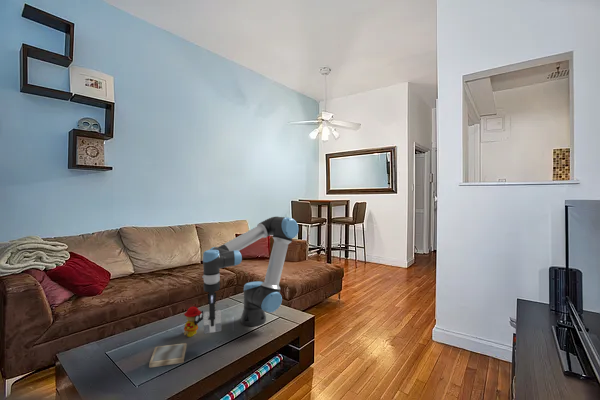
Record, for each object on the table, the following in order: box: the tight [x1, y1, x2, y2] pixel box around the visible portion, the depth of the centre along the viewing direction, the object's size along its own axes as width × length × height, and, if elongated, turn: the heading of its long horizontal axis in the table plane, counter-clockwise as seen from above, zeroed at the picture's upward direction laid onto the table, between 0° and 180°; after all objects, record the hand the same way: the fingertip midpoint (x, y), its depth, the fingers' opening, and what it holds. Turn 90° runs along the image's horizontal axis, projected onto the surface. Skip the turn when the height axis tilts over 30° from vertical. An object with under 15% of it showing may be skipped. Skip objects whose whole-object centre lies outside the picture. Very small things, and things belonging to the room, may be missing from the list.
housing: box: [203, 309, 222, 335], centre depth 141 cm, size 8×6×8 cm
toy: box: [183, 306, 204, 338], centre depth 156 cm, size 11×9×15 cm
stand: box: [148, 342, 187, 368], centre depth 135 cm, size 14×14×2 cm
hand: (212, 328), depth 141 cm, fingers closed on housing, 6 cm apart
